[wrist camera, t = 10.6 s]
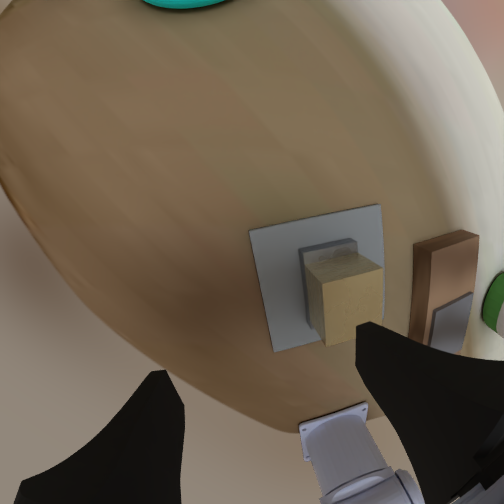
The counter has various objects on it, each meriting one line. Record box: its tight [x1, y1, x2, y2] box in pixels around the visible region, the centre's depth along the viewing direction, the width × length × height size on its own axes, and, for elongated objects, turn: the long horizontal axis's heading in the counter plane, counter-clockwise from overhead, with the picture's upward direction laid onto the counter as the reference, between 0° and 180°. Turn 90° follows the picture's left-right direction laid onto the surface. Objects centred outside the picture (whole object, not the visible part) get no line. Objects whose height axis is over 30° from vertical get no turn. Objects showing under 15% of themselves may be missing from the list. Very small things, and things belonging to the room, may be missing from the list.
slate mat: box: [249, 204, 385, 352], centre depth 20 cm, size 10×10×1 cm
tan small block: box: [298, 238, 383, 347], centre depth 17 cm, size 6×4×5 cm, turn 10°
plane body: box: [408, 230, 479, 355], centre depth 22 cm, size 18×7×3 cm, turn 11°
